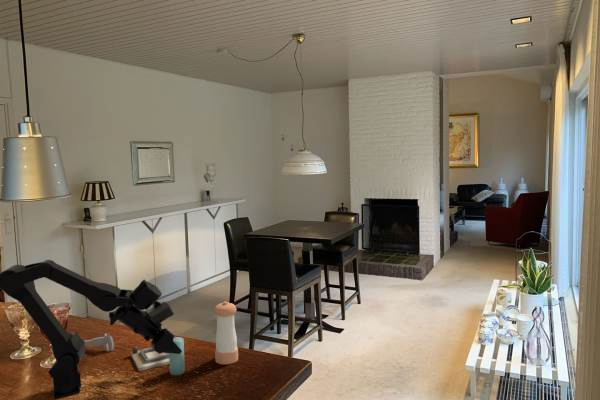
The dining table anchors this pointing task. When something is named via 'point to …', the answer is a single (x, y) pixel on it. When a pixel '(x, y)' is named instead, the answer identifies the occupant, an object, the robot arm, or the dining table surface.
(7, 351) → the dining table surface
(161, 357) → the board
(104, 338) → the caliper
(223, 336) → the salt shaker
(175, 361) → the pin
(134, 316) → the robot arm
